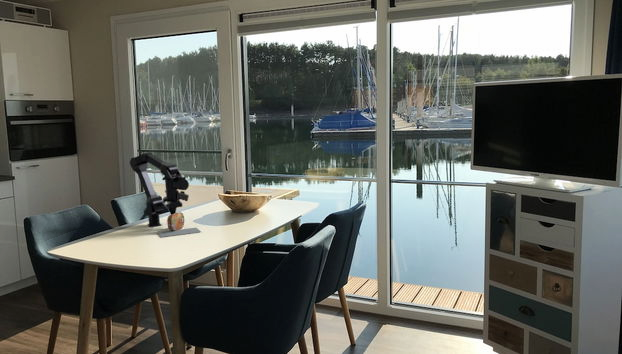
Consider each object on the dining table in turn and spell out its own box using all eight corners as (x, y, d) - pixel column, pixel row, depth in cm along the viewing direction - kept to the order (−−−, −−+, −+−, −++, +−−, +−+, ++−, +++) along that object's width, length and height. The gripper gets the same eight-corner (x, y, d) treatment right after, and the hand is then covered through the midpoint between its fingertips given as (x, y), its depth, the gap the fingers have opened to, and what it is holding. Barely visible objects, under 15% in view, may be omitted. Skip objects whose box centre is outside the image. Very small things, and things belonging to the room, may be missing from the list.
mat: (157, 233, 272) (157, 232, 272) (196, 228, 280) (196, 227, 280) (160, 237, 262) (160, 236, 262) (201, 232, 270) (201, 231, 270)
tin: (172, 232, 270) (171, 215, 269) (166, 231, 271) (165, 215, 270) (185, 226, 285) (184, 211, 284) (179, 226, 285) (179, 211, 285)
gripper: (191, 189, 275) (193, 219, 277) (182, 184, 291) (184, 212, 294) (169, 192, 270) (171, 222, 273) (161, 186, 286) (164, 215, 289)
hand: (173, 217), depth 282 cm, fingers closed
